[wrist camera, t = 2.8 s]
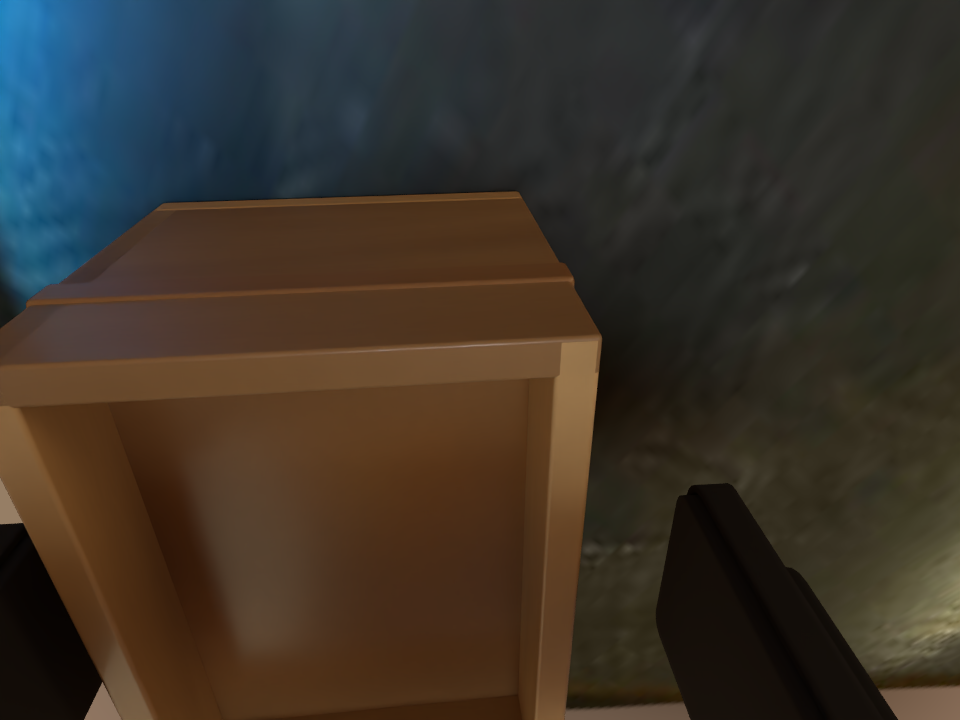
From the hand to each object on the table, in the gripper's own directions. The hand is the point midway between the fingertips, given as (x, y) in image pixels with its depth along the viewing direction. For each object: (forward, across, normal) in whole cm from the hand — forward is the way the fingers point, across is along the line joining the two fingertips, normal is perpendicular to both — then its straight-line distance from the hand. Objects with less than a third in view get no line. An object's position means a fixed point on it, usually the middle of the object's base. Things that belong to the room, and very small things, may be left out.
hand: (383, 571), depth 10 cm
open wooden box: (+5, +1, 0) cm, 5 cm away
